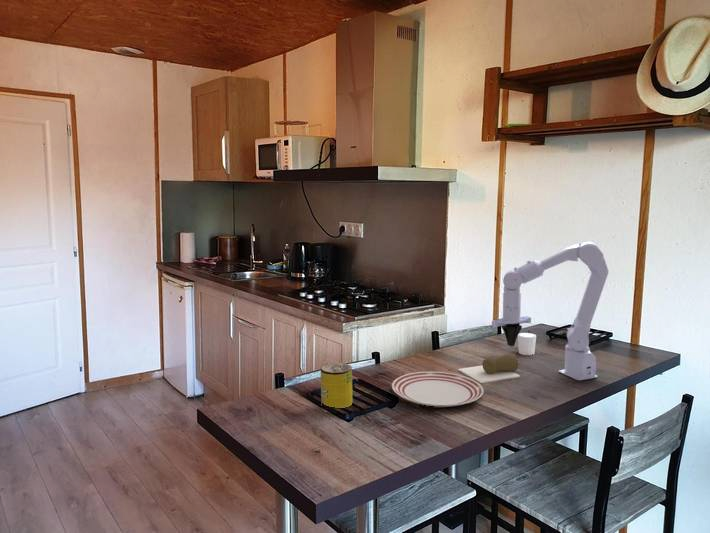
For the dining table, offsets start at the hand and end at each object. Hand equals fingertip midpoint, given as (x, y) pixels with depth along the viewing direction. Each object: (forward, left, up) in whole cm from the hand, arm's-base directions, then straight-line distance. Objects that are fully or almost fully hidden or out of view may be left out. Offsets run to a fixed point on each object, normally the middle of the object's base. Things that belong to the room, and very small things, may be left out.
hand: (511, 345), depth 187 cm
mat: (-1, +9, -8) cm, 13 cm away
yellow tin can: (-8, +65, -9) cm, 67 cm away
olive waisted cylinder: (-2, 0, -5) cm, 6 cm away
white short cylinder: (+13, -17, -9) cm, 23 cm away
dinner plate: (-11, +34, -9) cm, 37 cm away
